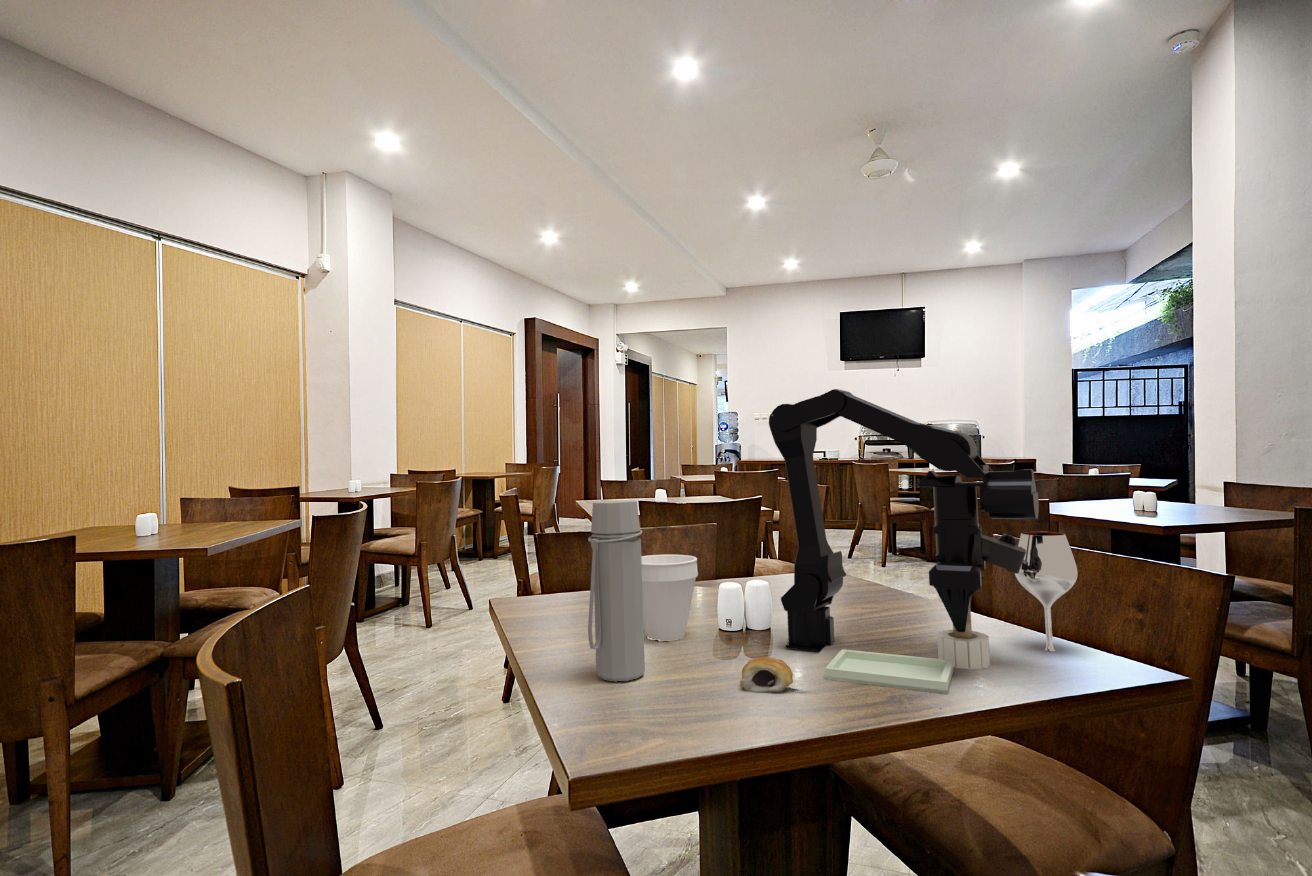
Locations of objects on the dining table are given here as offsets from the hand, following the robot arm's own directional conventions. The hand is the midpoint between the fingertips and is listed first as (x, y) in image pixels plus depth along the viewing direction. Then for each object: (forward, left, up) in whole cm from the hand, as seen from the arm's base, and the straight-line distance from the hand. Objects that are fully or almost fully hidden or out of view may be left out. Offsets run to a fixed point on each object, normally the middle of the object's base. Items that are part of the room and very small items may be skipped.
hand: (962, 627), depth 94 cm
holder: (0, 0, -6) cm, 6 cm away
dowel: (0, 0, -5) cm, 5 cm away
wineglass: (+11, +11, -6) cm, 17 cm away
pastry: (-23, -17, -6) cm, 30 cm away
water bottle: (-44, -23, -6) cm, 50 cm away
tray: (-8, -10, -6) cm, 14 cm away
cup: (-48, 0, -6) cm, 48 cm away
